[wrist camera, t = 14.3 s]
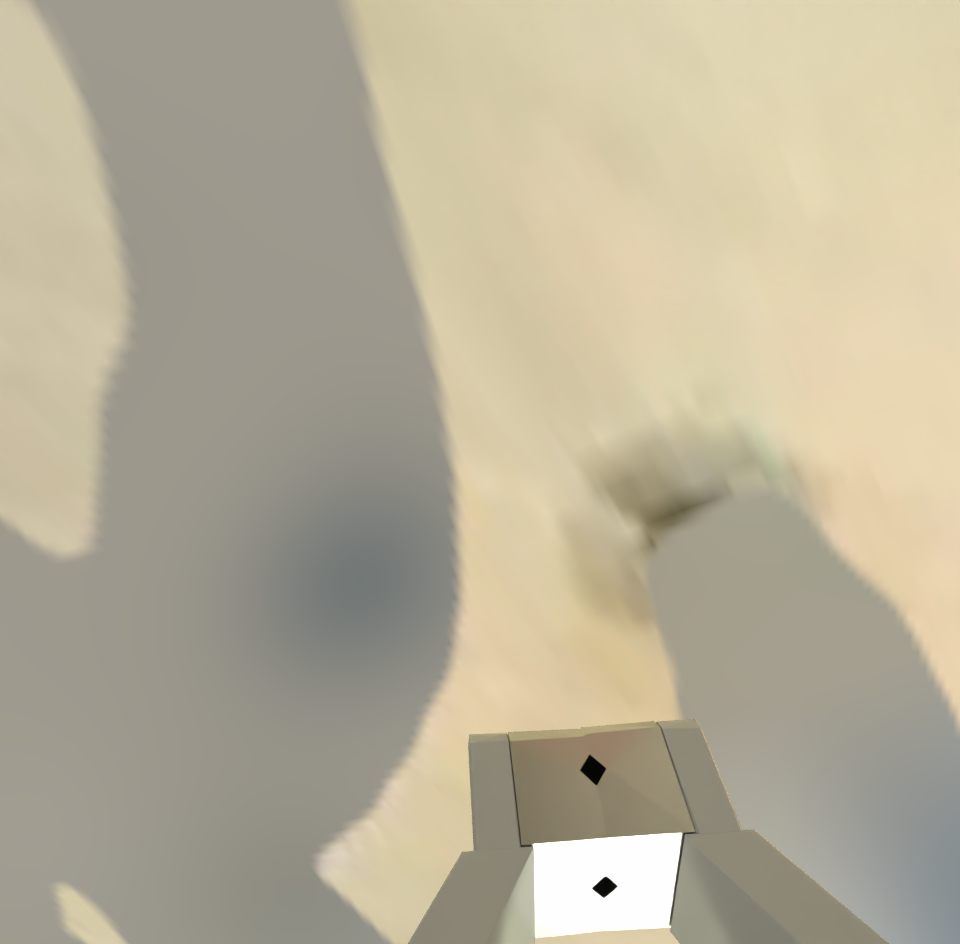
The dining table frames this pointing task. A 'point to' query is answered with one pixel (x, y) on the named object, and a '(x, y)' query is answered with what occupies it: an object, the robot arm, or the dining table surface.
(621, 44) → the dining table surface
